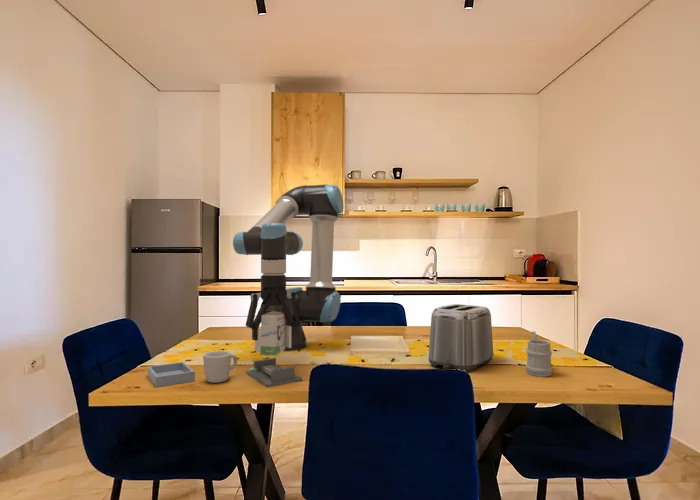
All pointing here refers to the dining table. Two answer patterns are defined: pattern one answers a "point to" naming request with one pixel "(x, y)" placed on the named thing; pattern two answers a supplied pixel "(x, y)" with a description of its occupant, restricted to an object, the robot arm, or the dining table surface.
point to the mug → (539, 357)
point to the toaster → (460, 337)
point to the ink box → (273, 333)
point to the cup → (218, 365)
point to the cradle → (272, 373)
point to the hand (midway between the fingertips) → (273, 349)
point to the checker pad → (269, 368)
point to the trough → (170, 374)
